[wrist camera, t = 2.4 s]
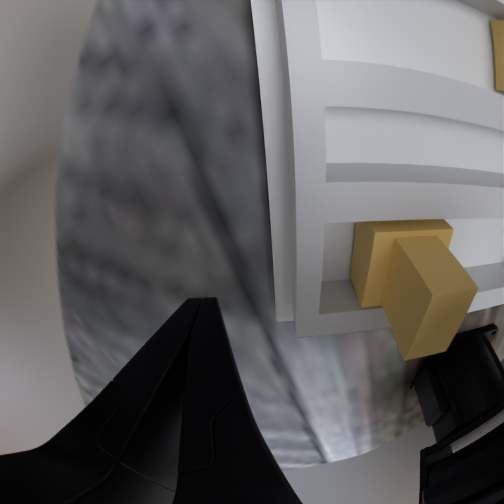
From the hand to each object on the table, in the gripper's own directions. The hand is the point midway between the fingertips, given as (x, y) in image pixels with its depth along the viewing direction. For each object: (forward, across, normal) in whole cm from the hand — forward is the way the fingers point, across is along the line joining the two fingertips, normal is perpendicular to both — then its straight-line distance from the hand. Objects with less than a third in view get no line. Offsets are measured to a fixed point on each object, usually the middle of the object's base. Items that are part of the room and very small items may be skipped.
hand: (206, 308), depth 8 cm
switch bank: (+4, -9, -4) cm, 11 cm away
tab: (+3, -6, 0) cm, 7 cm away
